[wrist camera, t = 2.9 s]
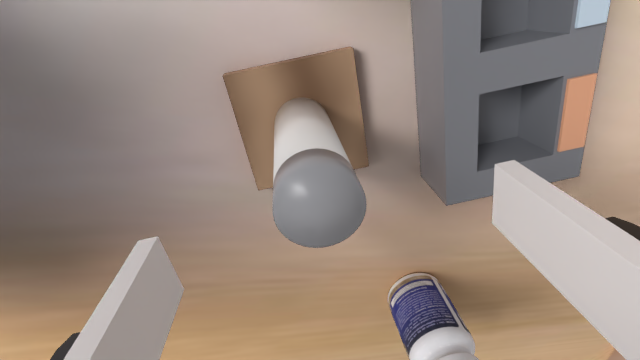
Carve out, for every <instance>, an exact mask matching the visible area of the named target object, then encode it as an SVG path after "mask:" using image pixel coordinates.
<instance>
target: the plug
mask: <svg viewBox="0 0 640 360" xmlns="http://www.w3.org/2000/svg"><path fill="white" fill-rule="evenodd" d="M365 212H366V197H365V193H364V191H363V188H362V186H361V184H360V182H359V180H358V178H357V176H356V174H355V172H354V169H353V167H352V165H351V163H350V161H349V159H348V157H347V155H346V153H345V151H344V148H343V146H342V144H341V142H340V140H339V138H338V136H337V134H336V132H335V130H334V127H333V125H332V123H331V121H330V119H329V117H328V115H327V113H326V111H325V109H324V108H323V107H322V106H321V105H320V104H319V103H318V102H316V101H315V100H312V99H309V98H295V99H292V100H289V101H288V102H286V103H285V104H284V105H282V107H281V108H280V109H279V110H278V112H277V114H276V117H275V124H274V169H273V217H274V221H275V223H276V226H277V227H278V229H279V230H280V232H281V233H282V234H283V235H284V236H285V237H286V238H288V239H289V240H290V241H292V242H294V243H296V244H299V245H302V246H305V247H313V248H320V247H328V246H331V245H335V244H337V243H340V242H342V241H343V240H345V239H347V238H348V237H349V236H351V235H352V234H353V233H354V232H355V231H356V230H357V229H358V227H359V226H360V224H361V223H362V221H363V218H364V216H365Z"/></svg>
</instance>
